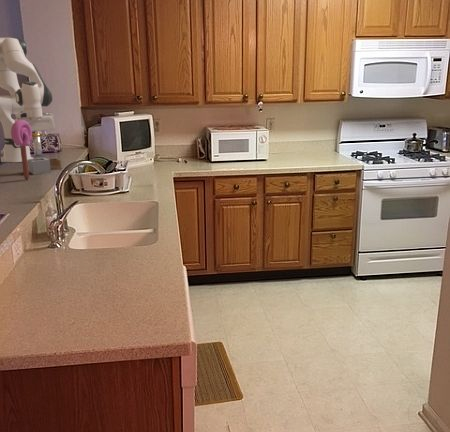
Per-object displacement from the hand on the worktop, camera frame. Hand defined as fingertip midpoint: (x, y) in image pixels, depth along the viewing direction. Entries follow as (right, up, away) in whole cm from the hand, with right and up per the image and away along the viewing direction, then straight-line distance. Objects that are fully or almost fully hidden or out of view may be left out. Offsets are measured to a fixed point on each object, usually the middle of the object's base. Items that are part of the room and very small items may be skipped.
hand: (36, 139), depth 263 cm
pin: (0, -8, +2) cm, 9 cm away
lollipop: (0, -23, -13) cm, 26 cm away
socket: (0, -17, +5) cm, 18 cm away
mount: (+4, -14, +15) cm, 21 cm away
